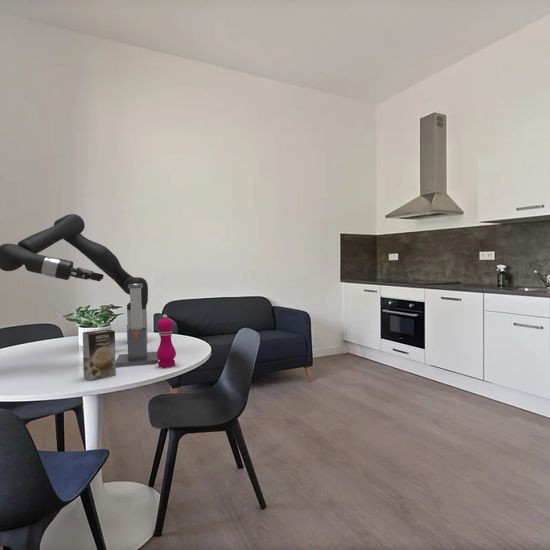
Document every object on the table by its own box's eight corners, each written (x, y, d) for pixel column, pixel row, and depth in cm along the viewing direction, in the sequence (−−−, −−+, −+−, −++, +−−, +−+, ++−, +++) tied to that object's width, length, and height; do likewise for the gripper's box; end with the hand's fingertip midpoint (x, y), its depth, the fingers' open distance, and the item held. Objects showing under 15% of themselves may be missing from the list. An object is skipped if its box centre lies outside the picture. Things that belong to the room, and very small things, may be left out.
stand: (114, 367, 152) (113, 333, 152) (119, 358, 167) (118, 327, 167) (158, 363, 156) (157, 330, 156) (158, 354, 172) (157, 325, 171)
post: (129, 343, 158) (127, 284, 157) (130, 340, 164) (128, 283, 163) (144, 342, 160) (142, 284, 159) (144, 339, 165) (142, 283, 164)
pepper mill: (159, 369, 148) (157, 316, 147) (155, 365, 154) (153, 314, 154) (178, 366, 151) (176, 314, 150) (173, 362, 157) (172, 312, 157)
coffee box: (90, 381, 135) (88, 334, 134) (83, 377, 139) (81, 332, 139) (116, 375, 141) (115, 330, 141) (109, 372, 146) (107, 328, 145)
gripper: (56, 259, 145) (102, 269, 150) (63, 258, 158) (106, 268, 164) (51, 278, 145) (97, 288, 150) (58, 276, 158) (101, 285, 163)
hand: (102, 277), depth 157 cm, fingers open, 8 cm apart
